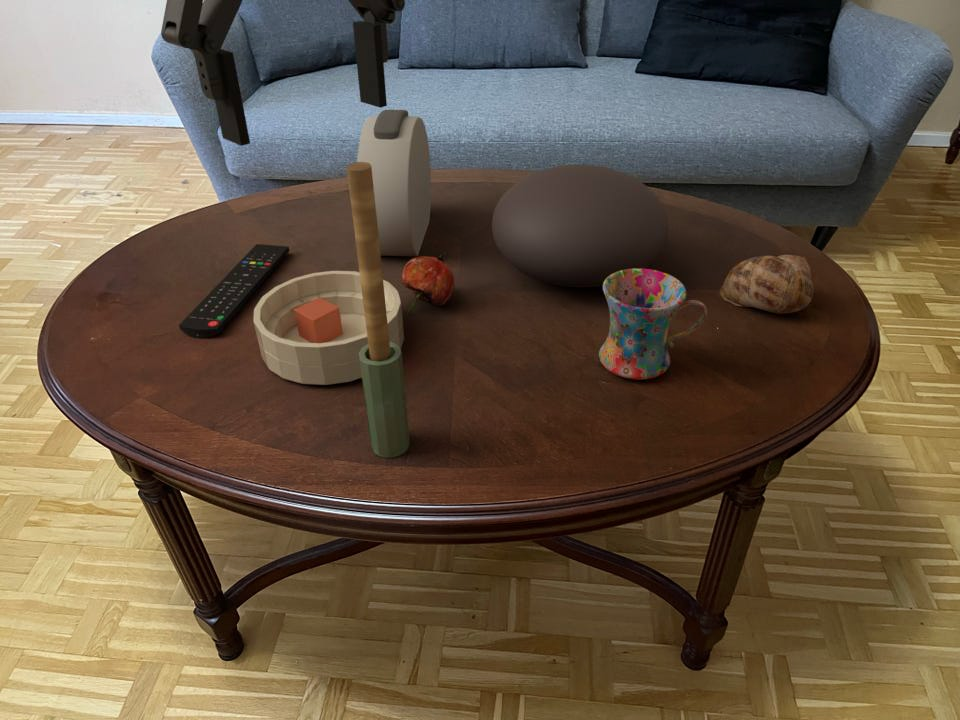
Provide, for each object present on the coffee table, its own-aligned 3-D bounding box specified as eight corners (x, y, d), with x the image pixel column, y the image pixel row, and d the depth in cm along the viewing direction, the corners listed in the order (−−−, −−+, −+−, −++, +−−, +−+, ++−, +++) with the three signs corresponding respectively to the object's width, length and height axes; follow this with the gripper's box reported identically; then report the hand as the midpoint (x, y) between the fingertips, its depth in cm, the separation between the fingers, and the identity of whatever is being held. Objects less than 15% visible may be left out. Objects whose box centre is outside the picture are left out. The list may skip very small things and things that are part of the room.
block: (318, 347, 89) (313, 320, 87) (298, 335, 92) (293, 309, 89) (343, 333, 92) (339, 307, 90) (323, 323, 94) (319, 296, 92)
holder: (389, 463, 73) (378, 370, 66) (363, 446, 76) (350, 353, 69) (417, 443, 76) (409, 351, 69) (391, 427, 78) (381, 336, 71)
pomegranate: (436, 335, 96) (479, 276, 97) (402, 308, 91) (448, 245, 92) (407, 317, 102) (448, 261, 102) (373, 290, 97) (417, 231, 97)
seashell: (785, 274, 103) (817, 237, 93) (798, 332, 99) (833, 298, 90) (713, 276, 102) (738, 238, 93) (724, 334, 99) (750, 300, 90)
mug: (594, 383, 84) (602, 306, 78) (595, 339, 91) (603, 265, 85) (699, 392, 82) (716, 314, 76) (692, 346, 90) (706, 272, 84)
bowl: (323, 408, 81) (315, 365, 77) (234, 350, 90) (224, 310, 87) (432, 341, 91) (429, 301, 88) (342, 295, 101) (337, 257, 97)
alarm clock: (390, 209, 125) (380, 92, 113) (433, 210, 124) (426, 92, 112) (364, 267, 107) (348, 137, 96) (413, 269, 107) (403, 138, 95)
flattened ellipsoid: (473, 244, 113) (472, 152, 105) (620, 225, 118) (630, 136, 109) (519, 326, 94) (521, 222, 85) (692, 300, 99) (711, 198, 90)
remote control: (290, 254, 111) (288, 246, 110) (217, 340, 92) (214, 331, 91) (258, 251, 112) (256, 243, 111) (179, 336, 93) (176, 327, 92)
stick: (389, 450, 74) (357, 172, 57) (376, 442, 75) (341, 166, 58) (403, 440, 75) (376, 165, 58) (390, 432, 77) (360, 159, 59)
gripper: (374, -197, 56) (394, 84, 68) (41, -214, 41) (142, 147, 54) (440, -202, 52) (449, 98, 64) (96, -223, 37) (192, 172, 49)
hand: (309, 121), depth 59 cm, fingers open, 13 cm apart
